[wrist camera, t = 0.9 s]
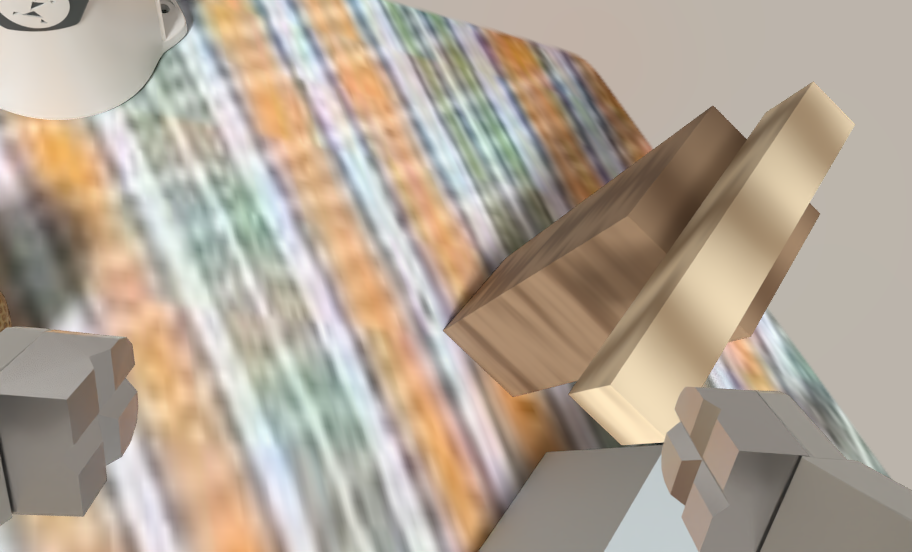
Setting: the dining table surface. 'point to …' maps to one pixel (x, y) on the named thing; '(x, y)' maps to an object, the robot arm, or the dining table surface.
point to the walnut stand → (603, 264)
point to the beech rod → (712, 271)
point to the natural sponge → (4, 314)
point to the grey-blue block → (594, 506)
